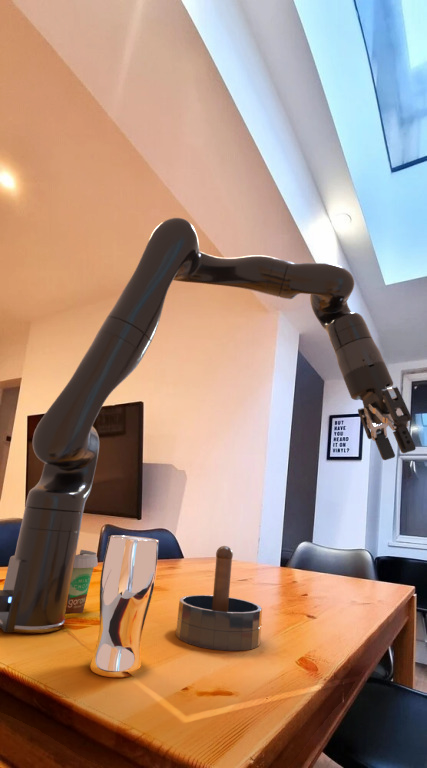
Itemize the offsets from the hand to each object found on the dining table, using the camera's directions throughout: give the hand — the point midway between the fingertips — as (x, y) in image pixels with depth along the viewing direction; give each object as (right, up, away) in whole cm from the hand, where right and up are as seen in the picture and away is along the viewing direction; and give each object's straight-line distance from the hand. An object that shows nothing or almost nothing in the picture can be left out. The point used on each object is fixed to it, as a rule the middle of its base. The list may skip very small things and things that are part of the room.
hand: (398, 455), depth 72 cm
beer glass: (-43, -23, -20) cm, 53 cm away
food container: (-57, -29, +3) cm, 64 cm away
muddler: (-31, -28, -5) cm, 42 cm away
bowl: (-31, -28, -5) cm, 42 cm away
